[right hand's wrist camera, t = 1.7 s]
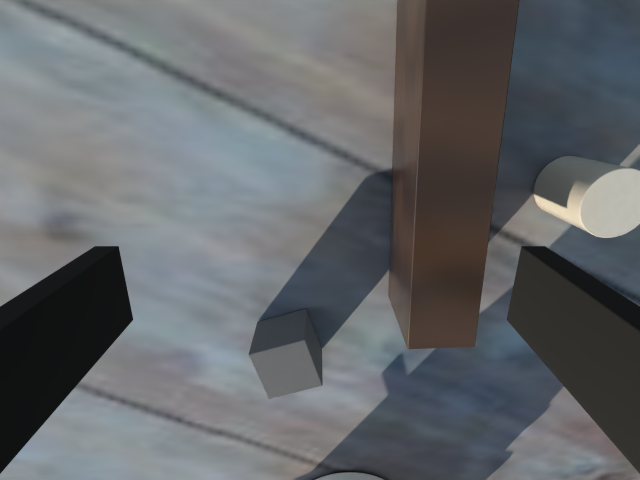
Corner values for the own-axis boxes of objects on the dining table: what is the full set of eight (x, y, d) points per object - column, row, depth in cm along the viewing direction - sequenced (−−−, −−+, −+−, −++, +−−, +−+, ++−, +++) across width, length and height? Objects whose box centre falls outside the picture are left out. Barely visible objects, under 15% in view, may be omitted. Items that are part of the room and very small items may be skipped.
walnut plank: (397, 0, 27) (428, -39, 19) (467, -3, 27) (525, -43, 19) (388, 296, 35) (407, 349, 28) (441, 294, 35) (475, 347, 28)
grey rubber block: (257, 321, 36) (248, 354, 31) (306, 308, 35) (304, 339, 31) (274, 362, 38) (268, 399, 33) (322, 349, 37) (322, 385, 32)
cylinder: (538, 156, 31) (588, 169, 25) (600, 154, 31) (663, 166, 25) (529, 215, 32) (573, 239, 27) (586, 213, 32) (643, 236, 27)
